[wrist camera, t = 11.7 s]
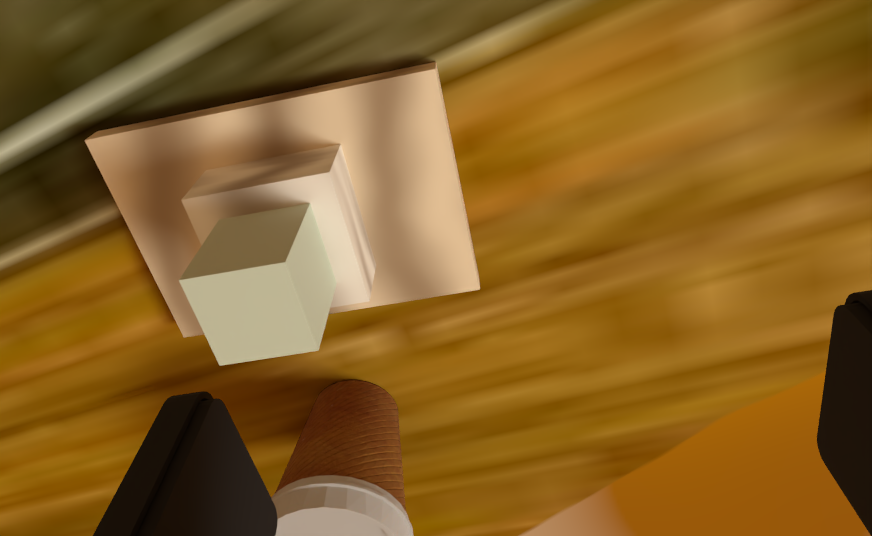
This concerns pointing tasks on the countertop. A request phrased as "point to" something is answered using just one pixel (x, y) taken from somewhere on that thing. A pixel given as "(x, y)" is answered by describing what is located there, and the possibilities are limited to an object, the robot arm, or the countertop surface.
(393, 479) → the disposable coffee cup
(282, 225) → the sage block
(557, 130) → the countertop surface
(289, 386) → the countertop surface
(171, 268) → the stack base
